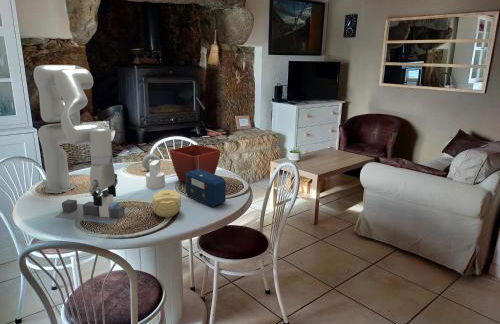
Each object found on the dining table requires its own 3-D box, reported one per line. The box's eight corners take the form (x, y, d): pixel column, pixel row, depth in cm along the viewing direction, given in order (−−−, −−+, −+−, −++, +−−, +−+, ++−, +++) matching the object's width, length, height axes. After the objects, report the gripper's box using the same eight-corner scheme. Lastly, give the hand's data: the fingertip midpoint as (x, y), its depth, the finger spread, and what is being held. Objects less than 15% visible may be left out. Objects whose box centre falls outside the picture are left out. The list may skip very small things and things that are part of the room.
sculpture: (153, 221, 145) (152, 196, 142) (152, 209, 156) (151, 185, 153) (182, 218, 148) (181, 193, 145) (179, 207, 159) (178, 183, 156)
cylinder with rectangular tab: (162, 188, 180) (161, 165, 177) (144, 188, 181) (142, 164, 177) (166, 182, 189) (165, 160, 186) (149, 182, 189) (148, 159, 186)
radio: (183, 195, 172) (182, 154, 166) (198, 191, 178) (197, 151, 172) (211, 209, 158) (211, 164, 152) (227, 203, 164) (227, 161, 158)
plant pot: (196, 173, 206) (196, 143, 201) (221, 180, 194) (221, 149, 190) (169, 181, 192) (168, 149, 187) (194, 189, 180) (194, 156, 175)
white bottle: (99, 216, 144) (97, 192, 142) (105, 212, 148) (103, 189, 146) (108, 217, 144) (106, 193, 141) (114, 213, 148) (112, 190, 145)
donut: (143, 172, 205) (142, 155, 202) (142, 170, 208) (141, 153, 205) (161, 170, 208) (160, 153, 206) (160, 169, 211) (159, 152, 209)
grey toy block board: (54, 220, 143) (52, 205, 142) (77, 206, 156) (76, 192, 155) (112, 227, 139) (111, 211, 137) (131, 213, 152) (130, 198, 150)
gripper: (106, 152, 149) (109, 192, 153) (78, 164, 132) (83, 208, 137) (123, 154, 147) (125, 194, 152) (97, 166, 131) (101, 210, 136)
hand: (105, 200), depth 145 cm, fingers open, 9 cm apart
